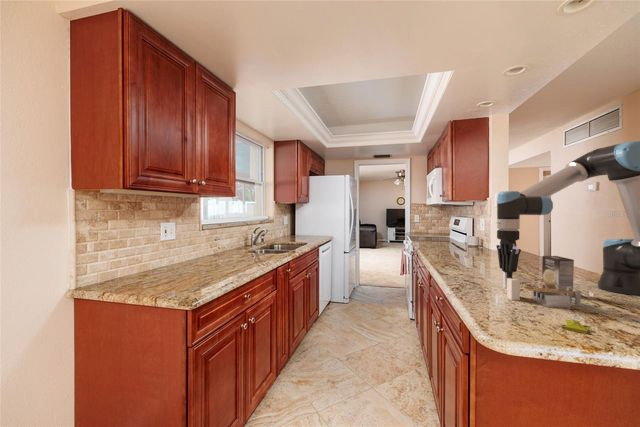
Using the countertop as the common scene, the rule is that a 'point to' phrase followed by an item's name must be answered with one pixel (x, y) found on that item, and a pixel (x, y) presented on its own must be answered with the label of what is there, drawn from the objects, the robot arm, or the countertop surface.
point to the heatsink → (551, 299)
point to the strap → (550, 290)
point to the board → (578, 303)
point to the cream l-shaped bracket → (514, 287)
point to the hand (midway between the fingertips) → (507, 288)
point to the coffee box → (557, 273)
